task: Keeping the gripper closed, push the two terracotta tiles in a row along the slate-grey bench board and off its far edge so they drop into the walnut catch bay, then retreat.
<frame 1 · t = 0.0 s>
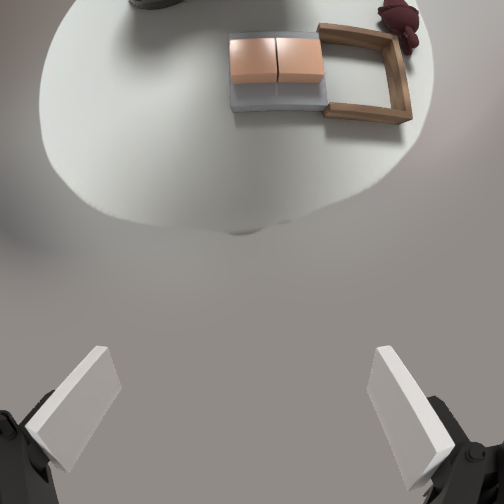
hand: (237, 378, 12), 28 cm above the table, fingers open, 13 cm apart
catch bay: (358, 77, 33), on the table
bench board: (275, 73, 33), on the table
tile 2: (297, 65, 30), point 3 cm above the table, touching bench board
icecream: (391, 24, 29), on the table
tile 1: (253, 65, 30), point 3 cm above the table, touching bench board
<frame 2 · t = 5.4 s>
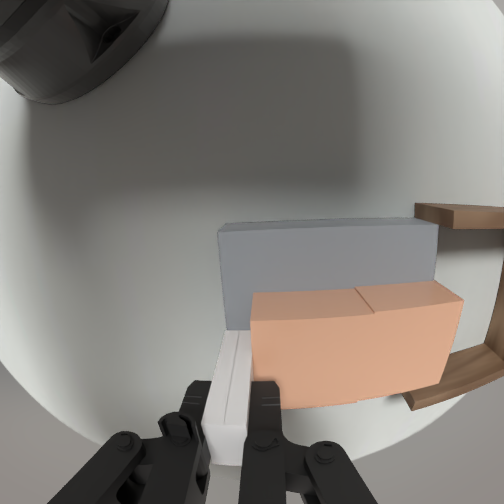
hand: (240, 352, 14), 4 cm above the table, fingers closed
catch bay: (464, 292, 17), on the table
bench board: (326, 309, 18), on the table
tile 2: (391, 326, 15), point 3 cm above the table, touching bench board, tile 1
tile 1: (303, 335, 15), point 3 cm above the table, touching gripper, tile 2
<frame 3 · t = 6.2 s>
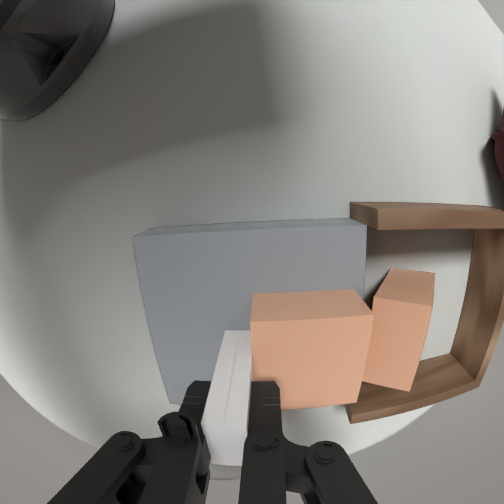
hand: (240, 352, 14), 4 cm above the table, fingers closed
catch bay: (420, 298, 18), on the table
bench board: (254, 312, 18), on the table
tile 2: (378, 321, 16), point 2 cm above the table, tilted 55°
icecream: (499, 148, 14), on the table
tile 1: (303, 335, 15), point 3 cm above the table, touching gripper
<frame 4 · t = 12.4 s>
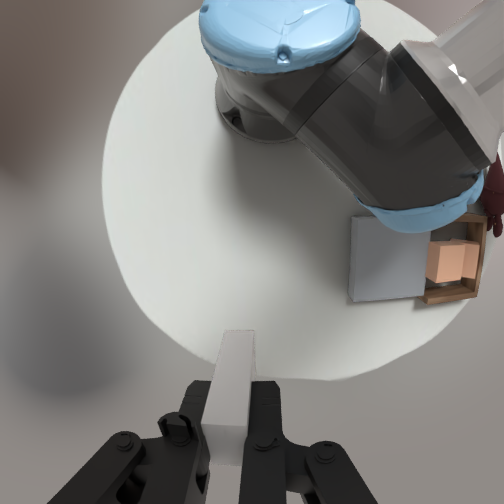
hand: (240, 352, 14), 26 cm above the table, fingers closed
catch bay: (446, 252, 39), on the table
bench board: (387, 255, 39), on the table
tile 2: (463, 260, 35), point 4 cm above the table, tilted 140°, touching catch bay, tile 1
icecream: (483, 191, 36), on the table
tile 1: (439, 258, 36), point 3 cm above the table, touching bench board, tile 2
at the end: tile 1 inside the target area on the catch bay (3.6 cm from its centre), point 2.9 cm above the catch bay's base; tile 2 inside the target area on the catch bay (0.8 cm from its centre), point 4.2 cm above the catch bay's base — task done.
